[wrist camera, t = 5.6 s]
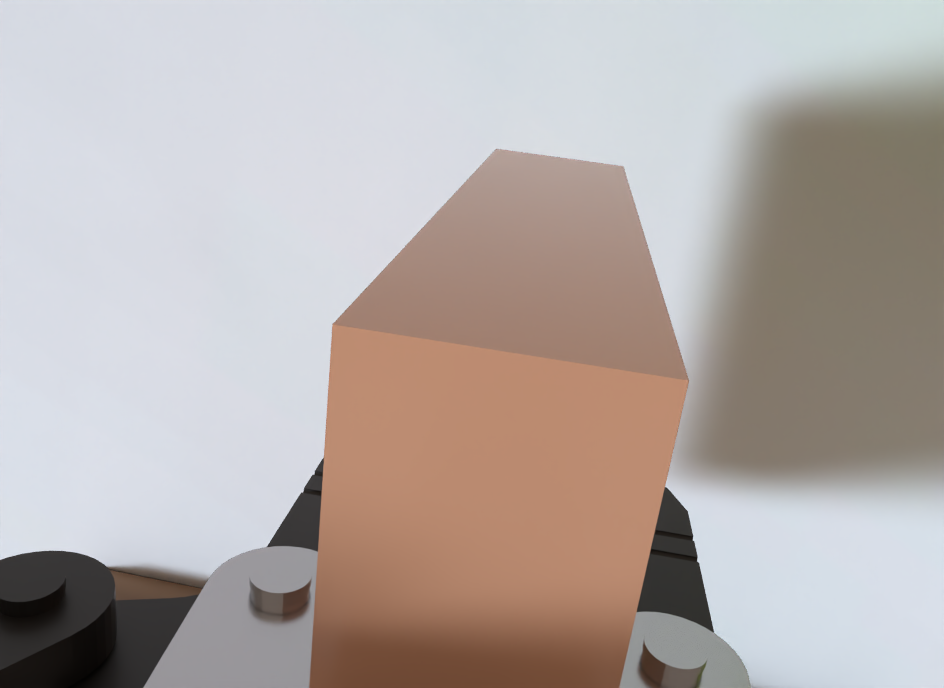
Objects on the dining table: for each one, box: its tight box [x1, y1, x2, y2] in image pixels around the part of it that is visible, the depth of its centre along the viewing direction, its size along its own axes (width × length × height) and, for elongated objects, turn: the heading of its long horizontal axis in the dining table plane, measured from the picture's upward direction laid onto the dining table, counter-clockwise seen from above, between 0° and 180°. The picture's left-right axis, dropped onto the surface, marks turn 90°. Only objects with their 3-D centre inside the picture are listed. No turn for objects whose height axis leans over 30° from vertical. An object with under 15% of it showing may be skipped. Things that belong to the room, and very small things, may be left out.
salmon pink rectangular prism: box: [309, 149, 689, 688], centre depth 10 cm, size 8×2×9 cm, turn 173°
